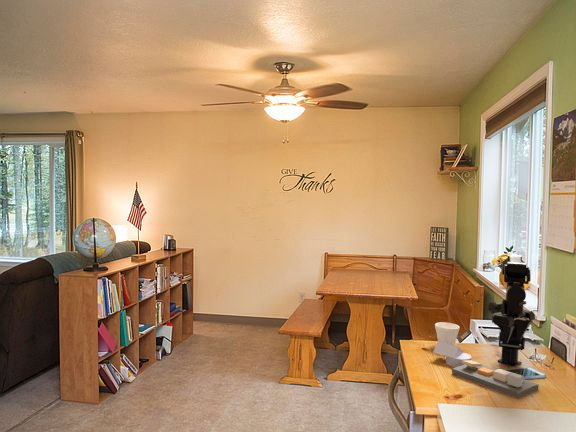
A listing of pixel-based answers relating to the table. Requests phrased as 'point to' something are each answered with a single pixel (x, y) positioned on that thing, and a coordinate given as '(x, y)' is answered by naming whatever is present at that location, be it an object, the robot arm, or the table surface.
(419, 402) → the table surface
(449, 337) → the cup
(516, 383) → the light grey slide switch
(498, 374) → the off-white button
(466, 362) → the cream rectangular plate
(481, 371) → the orange button
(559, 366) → the table surface
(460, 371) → the control panel
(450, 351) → the wedge on round base
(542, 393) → the table surface
